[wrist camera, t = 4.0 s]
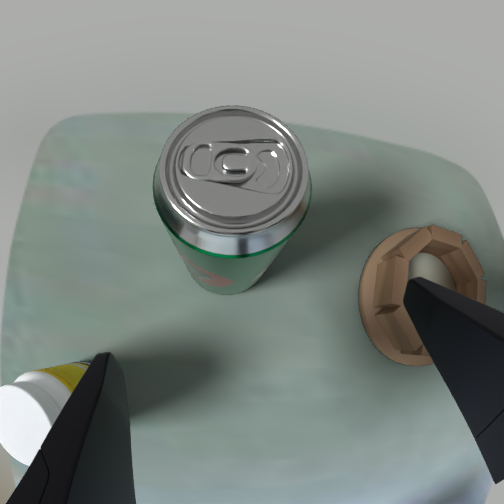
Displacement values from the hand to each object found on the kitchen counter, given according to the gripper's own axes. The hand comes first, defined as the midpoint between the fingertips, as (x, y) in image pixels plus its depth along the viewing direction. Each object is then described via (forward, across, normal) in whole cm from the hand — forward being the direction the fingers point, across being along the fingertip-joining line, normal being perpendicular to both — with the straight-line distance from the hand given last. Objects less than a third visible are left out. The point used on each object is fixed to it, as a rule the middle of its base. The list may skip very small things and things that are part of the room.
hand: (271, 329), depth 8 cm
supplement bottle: (+6, +11, +10) cm, 16 cm away
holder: (+7, -13, +9) cm, 17 cm away
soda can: (+11, 0, +5) cm, 12 cm away
